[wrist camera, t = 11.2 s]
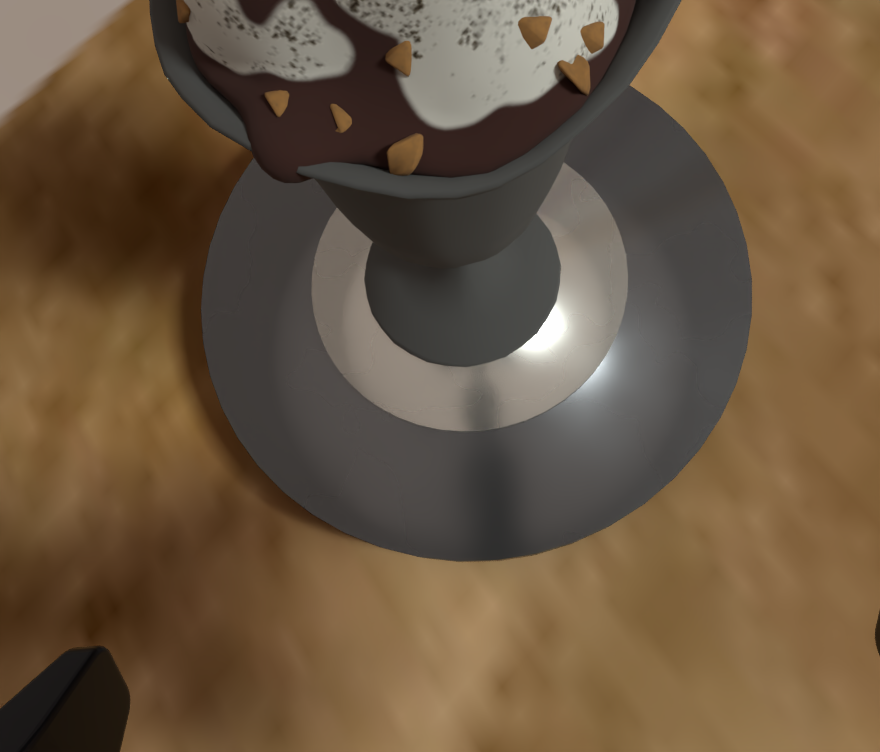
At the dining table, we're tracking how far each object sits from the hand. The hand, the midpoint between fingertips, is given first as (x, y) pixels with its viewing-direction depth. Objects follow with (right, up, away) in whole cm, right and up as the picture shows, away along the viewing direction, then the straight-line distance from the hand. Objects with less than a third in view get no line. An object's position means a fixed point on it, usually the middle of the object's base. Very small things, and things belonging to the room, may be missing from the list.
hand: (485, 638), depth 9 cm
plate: (0, +5, +11) cm, 13 cm away
